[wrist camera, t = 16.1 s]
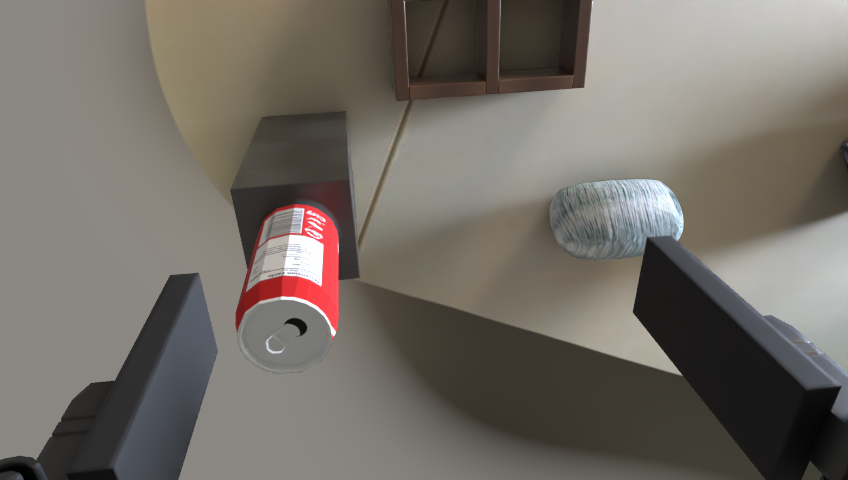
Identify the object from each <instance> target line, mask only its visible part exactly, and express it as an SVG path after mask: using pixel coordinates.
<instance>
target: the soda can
mask: <svg viewBox="0 0 848 480" xmlns="http://www.w3.org/2000/svg"><path fill="white" fill-rule="evenodd" d="M337 326H338V233H337V229H336V227H335V225H334V224H333V222H332V220H331V219H330V218H329V217H328V216H327V215H326V214H325V213H323V212H322V211H320V210H318V209H317V208H314V207H311V206H308V205H300V204H293V205H289V206H285V207H281V208H277V209H275V210H274V211H273V212H272V213H271V214H269V215H268V216H267V217H266V218H265V219H264V220H263V223H262V225H261V227H260V230H259V232H258V235H257V239H256V243H255V246H254V250H253V253H252V257H251V260H250V264H249V268H248V271H247V275H246V278H245V282H244V285H243V289H242V293H241V296H240V300H239V304H238V307H237V310H236V329H237V334H238V335H237V337H238V339H237V341H238V344H239V347H240V350H241V352H242V353H243V355H244V356H245V358H246V359H247V360H248V361H250V362H251V363H252V364H253V365H255V366H256V367H258V368H260V369H263V370H265V371H268V372H272V373H276V374H284V373H298V372H302V371H304V370H306V369H308V368H310V367H312V366H313V365H315V364H317V363H319V362H321V361H322V359H323V358H324V357H325V356H326V355H327V353H328V351H329V349H330V346H331V342H332V339H333V337H334V335H335V333H336V330H337Z"/></svg>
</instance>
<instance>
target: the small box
mask: <svg viewBox="0 0 848 480" xmlns="http://www.w3.org/2000/svg"><path fill="white" fill-rule="evenodd" d="M841 150H842V153H843V156H844V159H845V162H846V165H847V168H848V140H847V141H846V142H844V143H843V144H842V145H841Z"/></svg>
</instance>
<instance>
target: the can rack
mask: <svg viewBox="0 0 848 480" xmlns="http://www.w3.org/2000/svg"><path fill="white" fill-rule="evenodd" d="M405 1H425V0H387V7H388V23H389V40H390V56H391V72H392V88H393V92H394V95H395V98H396V100H397V101H401V100H409V99H410V100H416V99H430V98H444V97H459V96H473V95H485V94H498V93H499V94H502V93H516V92H530V91H544V90H559V89H572V88H584V85H585V74H586V64H587V54H588V43H589V33H590V23H591V13H592V2H593V0H564V1H563V14H562V28H561V41H560V55H559V68H558V67H557V68H541V69H526V70H511V71H499V48H500V9H501V0H477V73H466V74H451V75H436V76H421V77H408V57H407V36H406V15H405Z"/></svg>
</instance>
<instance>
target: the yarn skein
mask: <svg viewBox="0 0 848 480" xmlns="http://www.w3.org/2000/svg"><path fill="white" fill-rule="evenodd" d="M549 213H550V221H551V227H552V230H553V232H554V235H555V238H556V241H557V243H558V244H559V246H560V247H561V248H562V249H563V250H564V251H565V252H567V253H568V254H570V255H572V256H574V257H577V258H581V259H588V260H613V259H622V258H629V257H635V256H640V255H644V250H645V245H646V239H647V237H656V236H668V235H671V236H672V237H673V238H674V239H676V240H678V239H679V238H680V236H681V234H682V231H683V223H684V221H683V214H682V210H681V207H680V204H679V201H678V200H677V198H676V196H675V194H674V193H673V192H672V191H671V190H670V189H669V188H668V187H667V186H666V185H665V184H664V183H662V182H660V181H656V180H652V179H645V180H644V179H633V180H607V181H598V182H590V183H580V184H577V185H573V186H569V187H566V188H563V189H561V190H559V191H558V192H557V194H556V195H555V196H554V198H553V200H552V203H551V206H550V212H549Z"/></svg>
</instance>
